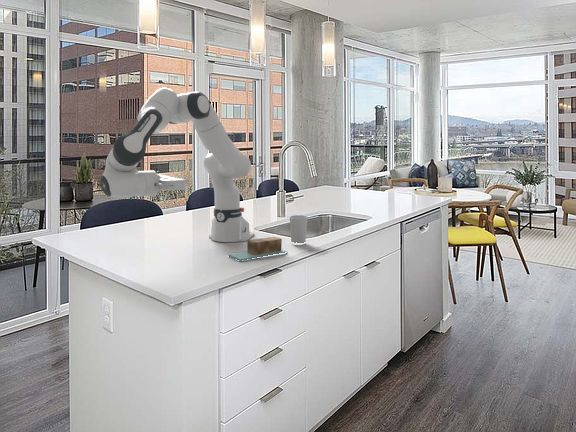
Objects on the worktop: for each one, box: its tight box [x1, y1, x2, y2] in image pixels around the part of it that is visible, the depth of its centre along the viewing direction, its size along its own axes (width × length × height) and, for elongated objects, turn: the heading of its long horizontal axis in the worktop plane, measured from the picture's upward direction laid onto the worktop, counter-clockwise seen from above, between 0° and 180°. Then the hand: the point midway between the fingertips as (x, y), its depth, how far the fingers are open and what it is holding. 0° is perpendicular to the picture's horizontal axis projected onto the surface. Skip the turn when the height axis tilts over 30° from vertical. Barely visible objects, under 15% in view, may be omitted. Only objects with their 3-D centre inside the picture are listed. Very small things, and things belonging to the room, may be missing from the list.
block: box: [246, 236, 283, 255], centre depth 202 cm, size 5×5×13 cm
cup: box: [289, 214, 309, 243], centre depth 221 cm, size 8×8×12 cm
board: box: [227, 248, 288, 262], centre depth 201 cm, size 22×9×1 cm, turn 126°
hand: (186, 181), depth 186 cm, fingers closed
